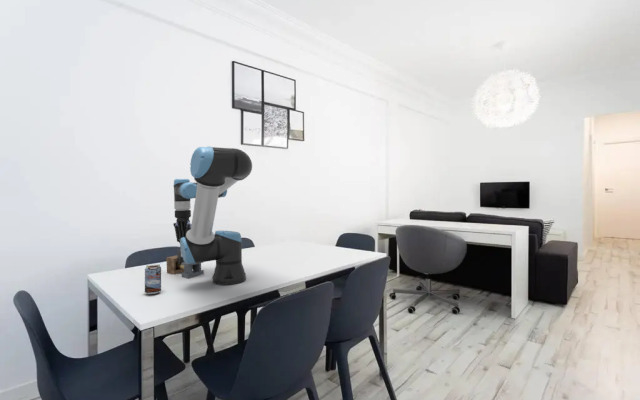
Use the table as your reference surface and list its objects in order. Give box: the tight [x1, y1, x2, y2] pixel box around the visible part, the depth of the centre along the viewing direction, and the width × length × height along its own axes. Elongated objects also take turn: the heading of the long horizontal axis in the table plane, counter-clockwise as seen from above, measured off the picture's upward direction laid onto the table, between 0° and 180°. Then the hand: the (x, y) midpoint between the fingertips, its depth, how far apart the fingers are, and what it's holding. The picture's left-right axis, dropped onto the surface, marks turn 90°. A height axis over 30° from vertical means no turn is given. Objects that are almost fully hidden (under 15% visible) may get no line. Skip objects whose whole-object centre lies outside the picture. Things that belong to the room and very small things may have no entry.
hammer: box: [175, 249, 194, 269], centre depth 167 cm, size 12×4×10 cm, turn 58°
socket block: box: [165, 255, 184, 275], centre depth 171 cm, size 6×6×8 cm
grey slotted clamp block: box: [181, 262, 205, 280], centre depth 164 cm, size 5×9×7 cm, turn 148°
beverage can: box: [144, 263, 162, 295], centre depth 137 cm, size 6×7×12 cm
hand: (184, 256), depth 167 cm, fingers closed
